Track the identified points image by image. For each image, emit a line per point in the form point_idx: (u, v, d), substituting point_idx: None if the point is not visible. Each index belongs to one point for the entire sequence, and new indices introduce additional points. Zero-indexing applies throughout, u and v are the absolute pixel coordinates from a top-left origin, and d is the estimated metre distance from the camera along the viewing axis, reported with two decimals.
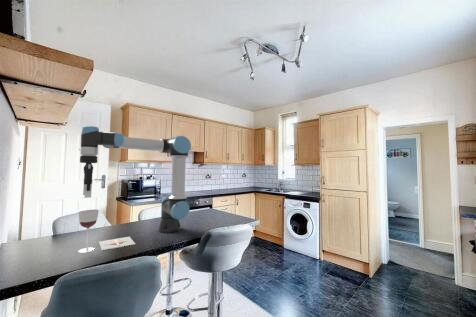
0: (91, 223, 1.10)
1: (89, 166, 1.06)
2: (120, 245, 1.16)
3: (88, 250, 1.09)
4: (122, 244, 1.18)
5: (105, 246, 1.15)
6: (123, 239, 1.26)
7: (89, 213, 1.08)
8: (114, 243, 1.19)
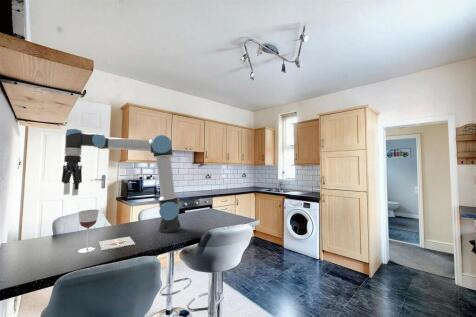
0: (91, 223, 1.10)
1: (79, 167, 1.21)
2: (120, 245, 1.16)
3: (88, 250, 1.09)
4: (122, 244, 1.18)
5: (105, 246, 1.15)
6: (123, 239, 1.26)
7: (89, 213, 1.08)
8: (114, 243, 1.19)
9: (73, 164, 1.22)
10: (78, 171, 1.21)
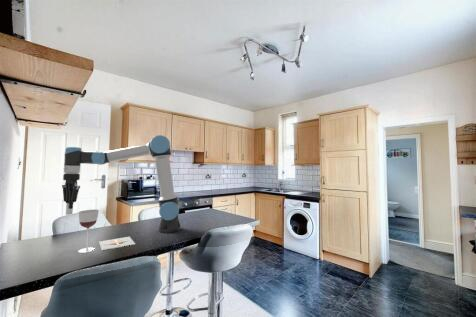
0: (91, 223, 1.10)
1: (77, 188, 1.21)
2: (120, 245, 1.16)
3: (88, 250, 1.09)
4: (122, 244, 1.18)
5: (105, 246, 1.15)
6: (123, 239, 1.26)
7: (89, 213, 1.08)
8: (114, 243, 1.19)
9: (72, 182, 1.21)
10: (75, 191, 1.21)
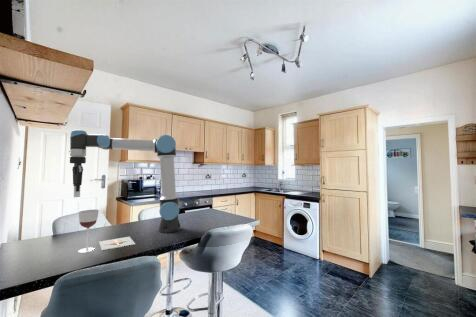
0: (91, 223, 1.10)
1: (80, 170, 1.20)
2: (120, 245, 1.16)
3: (88, 250, 1.09)
4: (122, 244, 1.18)
5: (105, 246, 1.15)
6: (123, 239, 1.26)
7: (89, 213, 1.08)
8: (114, 243, 1.19)
9: (76, 165, 1.22)
10: (78, 174, 1.20)
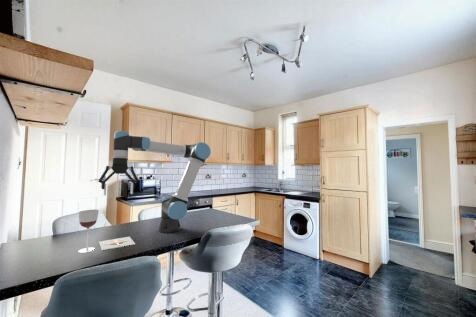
0: (91, 223, 1.10)
1: (106, 167, 1.19)
2: (120, 245, 1.16)
3: (88, 250, 1.09)
4: (122, 244, 1.18)
5: (105, 246, 1.15)
6: (123, 239, 1.26)
7: (89, 213, 1.08)
8: (114, 243, 1.19)
9: None
10: (104, 171, 1.19)
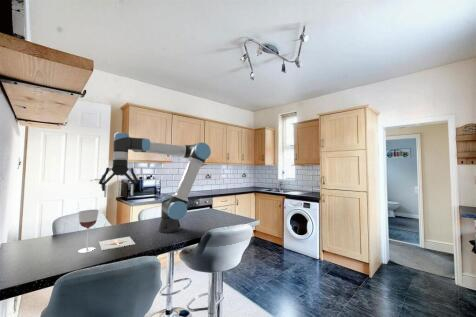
0: (91, 223, 1.10)
1: (106, 169, 1.19)
2: (120, 245, 1.16)
3: (88, 250, 1.09)
4: (122, 244, 1.18)
5: (105, 246, 1.15)
6: (123, 239, 1.26)
7: (89, 213, 1.08)
8: (114, 243, 1.19)
9: None
10: (104, 173, 1.19)
